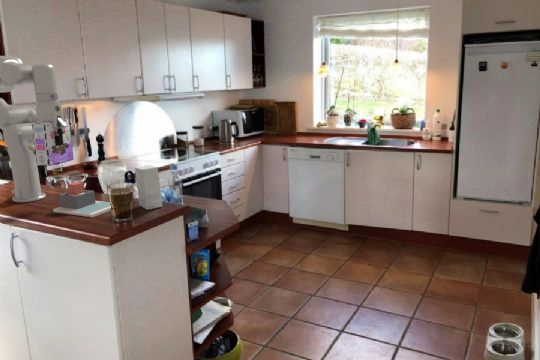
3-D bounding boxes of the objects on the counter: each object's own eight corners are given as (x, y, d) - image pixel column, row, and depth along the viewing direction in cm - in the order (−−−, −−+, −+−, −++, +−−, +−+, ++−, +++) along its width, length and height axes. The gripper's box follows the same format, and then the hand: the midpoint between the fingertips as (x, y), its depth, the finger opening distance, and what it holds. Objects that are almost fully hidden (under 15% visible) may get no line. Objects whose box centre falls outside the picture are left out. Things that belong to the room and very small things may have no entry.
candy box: (49, 166, 172) (43, 122, 168) (36, 166, 173) (30, 122, 169) (74, 160, 184) (69, 118, 181) (62, 159, 186) (57, 118, 182)
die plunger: (66, 204, 177) (63, 184, 175) (78, 200, 182) (76, 181, 180) (77, 206, 174) (74, 185, 172) (89, 202, 179) (87, 182, 178)
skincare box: (162, 207, 175) (159, 167, 172) (145, 210, 172) (141, 169, 168) (154, 202, 182) (150, 164, 179) (138, 205, 178) (134, 166, 175)
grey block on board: (53, 211, 174) (51, 196, 173) (84, 201, 187) (82, 187, 186) (92, 217, 165) (90, 201, 164) (121, 206, 179) (120, 191, 177)
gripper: (71, 97, 172) (77, 144, 177) (39, 97, 180) (45, 142, 184) (54, 98, 166) (61, 147, 170) (22, 98, 173) (29, 145, 177)
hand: (53, 144), depth 177 cm, fingers closed on candy box, 6 cm apart
